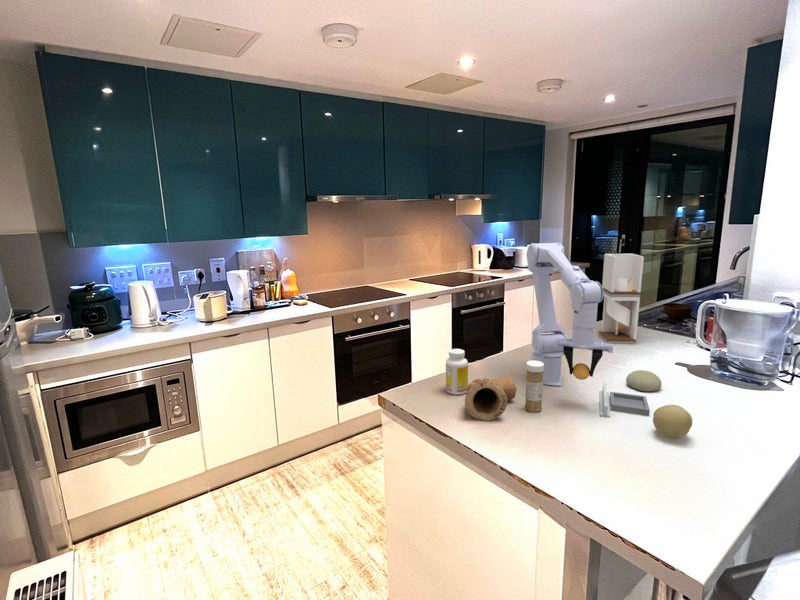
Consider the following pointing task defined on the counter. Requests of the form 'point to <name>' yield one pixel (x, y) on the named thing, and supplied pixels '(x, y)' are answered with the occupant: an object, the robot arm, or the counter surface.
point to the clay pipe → (489, 397)
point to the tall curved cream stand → (621, 297)
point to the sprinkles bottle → (534, 386)
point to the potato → (672, 421)
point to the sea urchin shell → (644, 380)
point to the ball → (581, 371)
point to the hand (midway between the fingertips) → (581, 374)
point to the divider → (604, 402)
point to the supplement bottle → (456, 372)
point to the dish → (629, 403)
